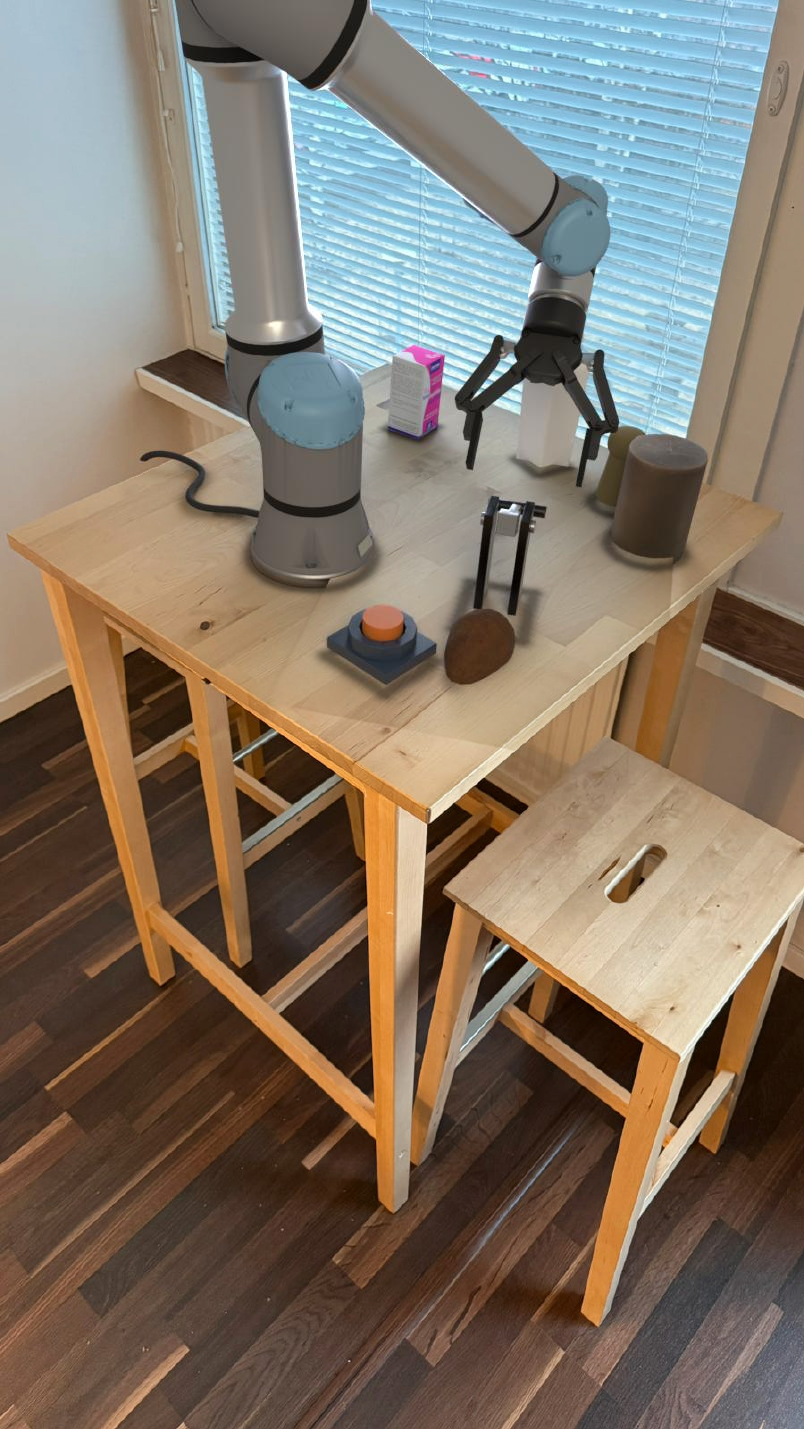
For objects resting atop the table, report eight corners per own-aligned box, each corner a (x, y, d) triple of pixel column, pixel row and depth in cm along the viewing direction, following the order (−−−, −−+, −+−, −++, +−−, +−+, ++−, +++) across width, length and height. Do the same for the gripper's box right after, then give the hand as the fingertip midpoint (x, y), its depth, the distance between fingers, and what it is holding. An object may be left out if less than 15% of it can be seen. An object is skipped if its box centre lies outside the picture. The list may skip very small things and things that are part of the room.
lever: (487, 512, 125) (490, 492, 124) (544, 521, 124) (547, 501, 123) (473, 530, 113) (476, 508, 112) (536, 540, 112) (540, 519, 111)
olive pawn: (634, 495, 143) (651, 422, 136) (637, 518, 139) (655, 443, 132) (591, 491, 144) (605, 418, 136) (593, 513, 139) (608, 438, 132)
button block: (326, 656, 113) (326, 623, 110) (376, 626, 118) (378, 594, 115) (385, 695, 109) (387, 662, 106) (435, 662, 113) (438, 629, 110)
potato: (423, 681, 111) (428, 629, 106) (469, 633, 118) (475, 582, 113) (481, 705, 108) (488, 653, 104) (524, 654, 115) (532, 603, 110)
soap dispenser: (546, 449, 153) (569, 299, 138) (573, 468, 148) (600, 315, 134) (510, 458, 150) (530, 306, 135) (537, 478, 146) (561, 323, 131)
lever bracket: (470, 582, 125) (481, 481, 116) (534, 593, 124) (551, 492, 115) (454, 629, 118) (465, 525, 109) (523, 641, 117) (540, 537, 108)
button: (353, 629, 110) (353, 616, 109) (381, 612, 113) (382, 599, 112) (383, 647, 108) (383, 634, 107) (411, 630, 111) (412, 617, 109)
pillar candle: (657, 576, 128) (685, 468, 118) (593, 545, 133) (615, 439, 123) (697, 547, 134) (727, 442, 124) (634, 519, 139) (658, 415, 129)
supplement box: (419, 441, 152) (424, 366, 145) (386, 429, 155) (389, 355, 147) (439, 427, 156) (445, 353, 149) (407, 416, 158) (411, 343, 151)
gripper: (455, 280, 125) (421, 449, 123) (662, 308, 121) (628, 482, 120) (460, 309, 132) (427, 468, 131) (655, 336, 128) (623, 500, 127)
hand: (523, 475), depth 125 cm, fingers open, 13 cm apart
